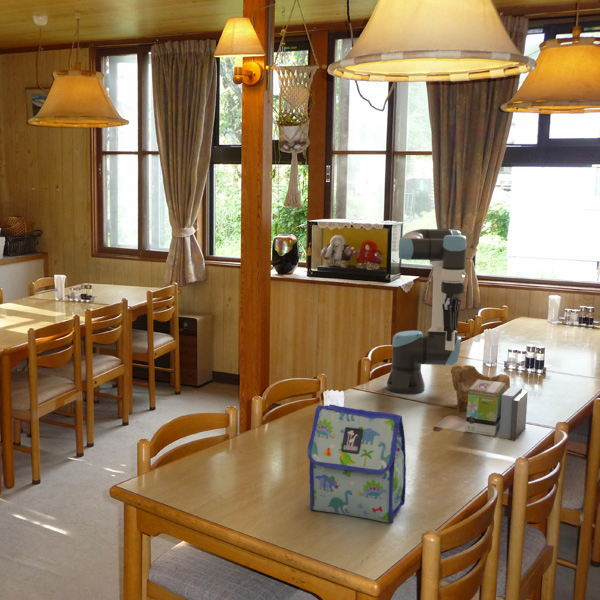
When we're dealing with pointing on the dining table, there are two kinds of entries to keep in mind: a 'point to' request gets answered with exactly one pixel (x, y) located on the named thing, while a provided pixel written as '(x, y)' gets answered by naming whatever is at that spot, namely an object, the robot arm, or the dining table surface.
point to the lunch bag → (357, 463)
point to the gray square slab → (518, 415)
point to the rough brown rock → (470, 382)
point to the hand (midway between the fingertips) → (449, 349)
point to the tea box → (484, 407)
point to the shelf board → (460, 426)
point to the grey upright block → (507, 410)
